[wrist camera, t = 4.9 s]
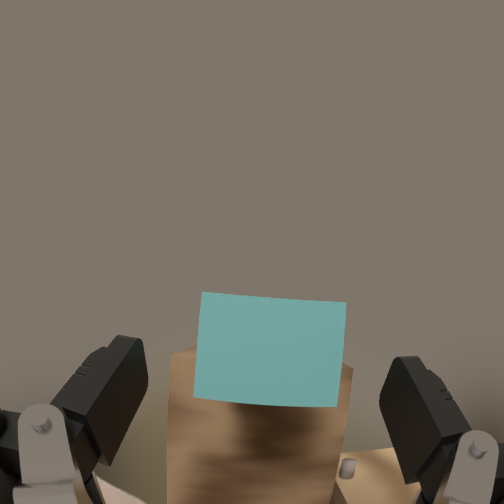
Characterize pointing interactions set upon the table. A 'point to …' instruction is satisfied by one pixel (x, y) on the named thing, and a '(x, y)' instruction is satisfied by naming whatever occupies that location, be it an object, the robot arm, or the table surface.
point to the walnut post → (250, 446)
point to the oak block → (371, 479)
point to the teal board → (269, 350)
